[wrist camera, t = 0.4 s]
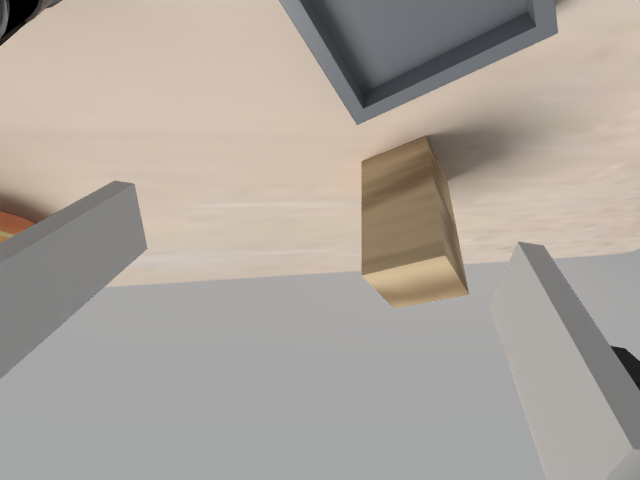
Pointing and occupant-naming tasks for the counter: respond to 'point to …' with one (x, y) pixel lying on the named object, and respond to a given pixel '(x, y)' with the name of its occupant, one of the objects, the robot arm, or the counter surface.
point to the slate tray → (412, 43)
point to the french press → (19, 14)
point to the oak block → (409, 228)
